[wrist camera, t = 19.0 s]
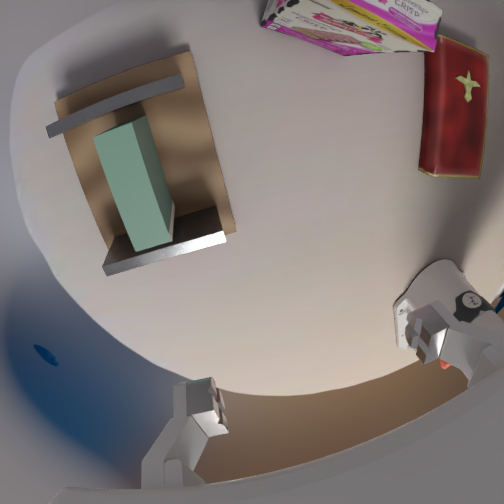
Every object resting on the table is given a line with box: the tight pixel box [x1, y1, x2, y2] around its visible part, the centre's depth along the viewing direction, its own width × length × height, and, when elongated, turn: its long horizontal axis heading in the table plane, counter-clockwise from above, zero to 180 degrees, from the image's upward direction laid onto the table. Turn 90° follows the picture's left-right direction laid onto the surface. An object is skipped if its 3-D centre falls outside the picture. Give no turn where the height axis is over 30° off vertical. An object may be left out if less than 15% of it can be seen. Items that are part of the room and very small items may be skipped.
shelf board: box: [54, 51, 237, 250], centre depth 33 cm, size 22×16×2 cm
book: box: [93, 115, 175, 252], centre depth 28 cm, size 4×11×9 cm, turn 12°
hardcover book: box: [418, 34, 489, 178], centre depth 35 cm, size 12×21×4 cm, turn 2°
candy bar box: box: [260, 0, 442, 56], centre depth 21 cm, size 11×5×16 cm, turn 75°
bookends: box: [46, 74, 226, 276], centre depth 29 cm, size 16×13×7 cm
